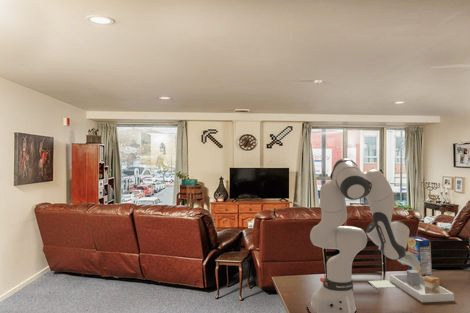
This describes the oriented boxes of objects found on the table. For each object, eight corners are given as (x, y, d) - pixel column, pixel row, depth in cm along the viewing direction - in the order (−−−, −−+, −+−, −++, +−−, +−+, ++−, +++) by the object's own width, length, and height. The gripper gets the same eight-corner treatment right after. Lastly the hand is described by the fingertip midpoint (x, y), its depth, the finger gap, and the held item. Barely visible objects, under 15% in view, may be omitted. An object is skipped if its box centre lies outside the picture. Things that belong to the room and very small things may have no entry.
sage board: (376, 289, 173) (376, 287, 173) (368, 282, 183) (368, 281, 183) (396, 288, 174) (396, 286, 174) (387, 282, 184) (386, 280, 184)
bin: (421, 304, 153) (421, 294, 154) (390, 282, 182) (389, 274, 183) (454, 302, 154) (453, 293, 154) (417, 281, 183) (417, 273, 183)
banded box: (432, 297, 158) (431, 279, 159) (425, 294, 163) (424, 276, 163) (440, 296, 159) (439, 278, 159) (432, 293, 164) (431, 275, 164)
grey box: (411, 285, 175) (411, 272, 175) (407, 282, 179) (406, 270, 179) (419, 285, 175) (419, 272, 175) (415, 282, 179) (414, 269, 179)
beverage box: (421, 278, 188) (419, 240, 188) (409, 272, 198) (407, 236, 199) (432, 277, 188) (430, 240, 189) (419, 272, 199) (417, 236, 200)
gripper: (411, 248, 147) (431, 268, 148) (383, 238, 167) (401, 256, 168) (403, 259, 146) (423, 278, 147) (376, 248, 166) (394, 265, 167)
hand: (411, 266), depth 158 cm, fingers open, 8 cm apart
